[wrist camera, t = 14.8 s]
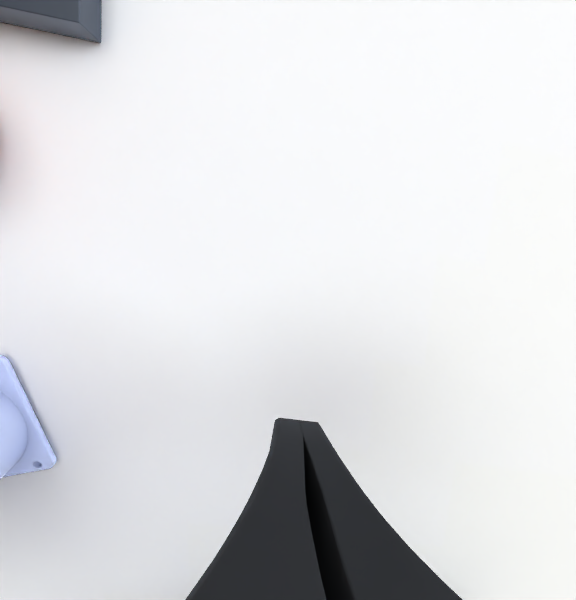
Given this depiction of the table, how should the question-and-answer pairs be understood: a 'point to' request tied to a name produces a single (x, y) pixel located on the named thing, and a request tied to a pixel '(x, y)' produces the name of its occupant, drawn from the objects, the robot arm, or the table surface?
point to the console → (55, 16)
